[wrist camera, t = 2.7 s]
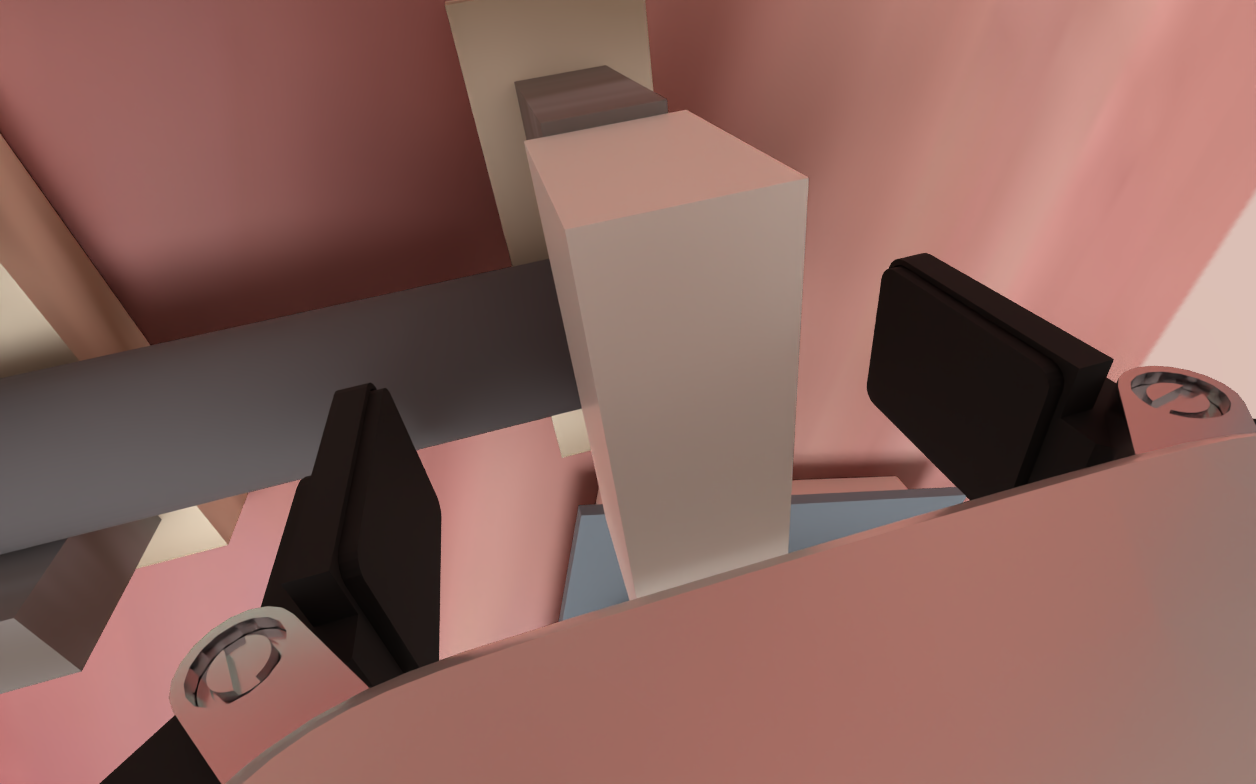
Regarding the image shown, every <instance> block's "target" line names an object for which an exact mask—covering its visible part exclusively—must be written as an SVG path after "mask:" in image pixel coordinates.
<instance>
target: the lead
mask: <svg viewBox="0 0 1256 784" xmlns="http://www.w3.org/2000/svg"><path fill="white" fill-rule="evenodd" d="M370 382H371V383H372V384H374V386H375V387H376V388H377V390H378V389H382V388H387V389H388V391H389V392H390V394H391V396H392V398H393V400H394V403H395V405H396V407H397V409H398V411H399V414H400V416H401V418H402V420H403V422H404V425H405V427H406V429H407V431H408V434H409V436H410V438H411V440H412V442H413V445H414V447H415V449H416V450H419V449H423V448H427V447H431V446H435V445H439V444H443V443H447V442H451V441H455V440H459V439H463V438H467V437H471V436H475V435H479V434H483V433H487V432H491V431H495V430H499V429H503V428H507V427H511V426H515V425H519V424H523V423H526V422H530V421H534V420H538V419H542V418H546V417H550V416H554V415H558V414H562V413H566V412H570V411H574V410H578V409H582V407H581V402H580V398H579V393H578V388H577V384H576V379H575V375H574V370H573V365H572V361H571V356H570V352H569V347H568V342H567V338H566V333H565V329H564V324H563V319H562V315H561V310H560V306H559V301H558V296H557V292H556V287H555V283H554V278H553V273H552V269H551V264H550V260H549V259H545V260H540V261H536V262H531V263H527V264H522V265H517V266H513V267H508V268H504V269H499V270H495V271H490V272H485V273H481V274H476V275H472V276H467V277H462V278H458V279H453V280H449V281H444V282H439V283H435V284H430V285H426V286H421V287H417V288H412V289H407V290H403V291H398V292H394V293H389V294H384V295H380V296H375V297H371V298H366V299H361V300H357V301H352V302H348V303H343V304H339V305H334V306H329V307H325V308H320V309H316V310H311V311H306V312H302V313H297V314H293V315H288V316H283V317H279V318H274V319H270V320H265V321H261V322H256V323H251V324H247V325H242V326H238V327H233V328H228V329H224V330H219V331H215V332H210V333H205V334H201V335H196V336H192V337H187V338H183V339H178V340H173V341H169V342H164V343H160V344H155V345H150V346H146V347H141V348H137V349H132V350H127V351H123V352H118V353H114V354H109V355H105V356H100V357H95V358H91V359H86V360H82V361H77V362H72V363H68V364H63V365H59V366H54V367H49V368H45V369H40V370H36V371H31V372H27V373H22V374H17V375H13V376H8V377H4V378H0V555H1V554H5V553H9V552H13V551H17V550H21V549H25V548H29V547H33V546H37V545H41V544H45V543H49V542H53V541H57V540H61V539H65V538H69V537H73V536H77V535H81V534H85V533H89V532H93V531H97V530H101V529H105V528H109V527H113V526H117V525H121V524H125V523H129V522H133V521H136V520H140V519H144V518H148V517H152V516H156V515H160V514H164V513H168V512H172V511H176V510H180V509H184V508H188V507H192V506H196V505H200V504H204V503H208V502H212V501H216V500H220V499H224V498H228V497H232V496H236V495H240V494H244V493H248V492H252V491H256V490H260V489H264V488H268V487H272V486H276V485H280V484H284V483H288V482H292V481H296V480H300V479H303V478H304V477H306V476H310V475H311V474H312V471H313V467H314V464H315V460H316V456H317V453H318V449H319V446H320V442H321V439H322V435H323V432H324V428H325V424H326V421H327V417H328V414H329V410H330V407H331V403H332V400H333V396H334V393H335V391H337V390H341V389H345V388H349V387H353V386H358V385H362V384H366V383H370Z"/></svg>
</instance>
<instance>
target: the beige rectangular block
mask: <svg viewBox="0 0 1256 784" xmlns="http://www.w3.org/2000/svg"><path fill="white" fill-rule="evenodd" d="M524 144H525V149H526V154H527V158H528V163H529V167H530V172H531V177H532V181H533V186H534V190H535V195H536V200H537V204H538V209H539V214H540V218H541V223H542V227H543V232H544V237H545V241H546V246H547V250H548V255H549V260H550V264H551V269H552V273H553V278H554V283H555V287H556V292H557V296H558V301H559V306H560V310H561V315H562V319H563V324H564V329H565V333H566V338H567V342H568V347H569V352H570V356H571V361H572V365H573V370H574V375H575V379H576V384H577V388H578V393H579V398H580V402H581V407H582V411H583V416H584V421H585V425H586V430H587V434H588V439H589V444H590V448H591V453H592V457H593V462H594V467H595V471H596V476H597V480H598V485H599V490H600V494H601V499H602V503H603V508H604V513H605V517H606V521H607V525H608V528H609V532H610V535H611V538H612V542H613V545H614V549H615V552H616V556H617V559H618V562H619V566H620V569H621V573H622V576H623V580H624V583H625V587H626V590H627V593H628V597H629V600H633V599H637V598H640V597H643V596H647V595H650V594H653V593H657V592H660V591H663V590H667V589H670V588H673V587H677V586H680V585H683V584H687V583H690V582H693V581H697V580H700V579H703V578H707V577H710V576H714V575H717V574H720V573H724V572H727V571H730V570H734V569H737V568H740V567H744V566H747V565H751V564H754V563H757V562H761V561H764V560H768V559H771V558H774V557H778V556H781V555H785V554H788V546H789V528H790V510H791V492H792V474H793V456H794V437H795V419H796V401H797V383H798V365H799V347H800V329H801V311H802V292H803V274H804V256H805V238H806V220H807V202H808V184H809V178H808V177H807V176H805V175H803V174H801V173H799V172H798V171H796V170H794V169H792V168H790V167H789V166H787V165H785V164H783V163H781V162H780V161H778V160H776V159H774V158H772V157H771V156H769V155H767V154H765V153H763V152H762V151H760V150H758V149H756V148H754V147H753V146H751V145H749V144H747V143H745V142H744V141H742V140H740V139H738V138H736V137H735V136H733V135H731V134H729V133H727V132H726V131H724V130H722V129H720V128H718V127H717V126H715V125H713V124H711V123H709V122H708V121H706V120H704V119H702V118H700V117H699V116H697V115H695V114H693V113H691V112H690V111H688V110H682V111H677V112H672V113H666V114H661V115H656V116H651V117H646V118H640V119H635V120H630V121H625V122H620V123H614V124H609V125H604V126H599V127H594V128H588V129H583V130H578V131H573V132H568V133H562V134H557V135H552V136H547V137H541V138H536V139H531V140H526V141H524Z"/></svg>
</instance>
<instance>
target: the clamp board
mask: <svg viewBox="0 0 1256 784" xmlns="http://www.w3.org/2000/svg"><path fill="white" fill-rule="evenodd" d="M445 8H446V12H447V16H448V20H449V23H450V27H451V31H452V35H453V39H454V43H455V47H456V50H457V54H458V58H459V62H460V66H461V70H462V74H463V77H464V81H465V85H466V89H467V93H468V97H469V101H470V105H471V108H472V112H473V116H474V120H475V124H476V128H477V132H478V135H479V139H480V143H481V147H482V151H483V155H484V159H485V162H486V166H487V170H488V174H489V178H490V182H491V186H492V189H493V193H494V197H495V201H496V205H497V209H498V213H499V217H500V220H501V224H502V228H503V232H504V236H505V240H506V244H507V247H508V251H509V255H510V259H511V263H512V267H513V266H517V265H522V264H527V263H531V262H536V261H540V260H545V259H549V255H548V250H547V246H546V241H545V237H544V232H543V227H542V223H541V218H540V214H539V209H538V204H537V200H536V195H535V190H534V186H533V181H532V177H531V172H530V167H529V163H528V158H527V154H526V149H525V144H524V141H526V140H531V139H536V138H541V137H547V136H552V135H557V134H562V133H568V132H573V131H578V130H583V129H588V128H594V127H599V126H604V125H609V124H614V123H620V122H625V121H630V120H635V119H640V118H646V117H651V116H656V115H661V114H666V113H668V106H667V99H666V98H664V97H662V96H660V95H658V94H657V93H655V92H653V81H652V70H651V59H650V48H649V37H648V26H647V15H646V4H645V0H450V1H445ZM146 346H150V344H149V343H148V341H147V340H146V338H145V337H144V336H143V334H142V333H141V331H140V330H139V329H138V327H137V326H136V324H135V323H134V322H133V320H132V319H131V317H130V316H129V314H128V313H127V312H126V310H125V309H124V307H123V306H122V305H121V303H120V302H119V300H118V299H117V298H116V296H115V295H114V293H113V292H112V291H111V289H110V288H109V286H108V285H107V283H106V282H105V281H104V279H103V278H102V276H101V275H100V274H99V272H98V271H97V269H96V268H95V267H94V265H93V264H92V262H91V261H90V260H89V258H88V257H87V255H86V254H85V252H84V251H83V250H82V248H81V247H80V245H79V244H78V243H77V241H76V240H75V238H74V237H73V236H72V234H71V233H70V231H69V230H68V228H67V227H66V226H65V224H64V223H63V221H62V220H61V219H60V217H59V216H58V214H57V213H56V212H55V210H54V209H53V207H52V206H51V205H50V203H49V202H48V200H47V199H46V197H45V196H44V195H43V193H42V192H41V190H40V189H39V188H38V186H37V185H36V183H35V182H34V181H33V179H32V178H31V176H30V175H29V174H28V172H27V171H26V169H25V168H24V166H23V165H22V164H21V162H20V161H19V159H18V158H17V157H16V155H15V154H14V152H13V151H12V150H11V148H10V147H9V145H8V144H7V142H6V141H5V140H4V138H3V137H2V135H1V134H0V378H4V377H8V376H13V375H17V374H22V373H27V372H31V371H36V370H40V369H45V368H49V367H54V366H59V365H63V364H68V363H72V362H77V361H82V360H86V359H91V358H95V357H100V356H105V355H109V354H114V353H118V352H123V351H127V350H132V349H137V348H141V347H146ZM551 417H552V421H553V425H554V429H555V433H556V437H557V441H558V444H559V448H560V452H561V456H562V458H563V457H567V456H571V455H575V454H579V453H583V452H587V451H590V450H591V448H590V444H589V439H588V434H587V430H586V425H585V421H584V416H583V411H582V409H578V410H574V411H570V412H566V413H562V414H558V415H554V416H551ZM247 495H248V493H244V494H240V495H236V496H232V497H228V498H224V499H220V500H216V501H212V502H208V503H204V504H200V505H196V506H192V507H188V508H184V509H180V510H176V511H172V512H168V513H164V514H160V515H156V516H152V517H148V518H144V519H140V520H136V521H133V522H129V523H125V524H121V525H117V526H113V527H109V528H105V529H101V530H97V531H93V532H89V533H85V534H81V535H77V536H73V537H69V538H65V539H61V540H57V541H53V542H49V543H45V544H41V545H37V546H33V547H29V548H25V549H21V550H17V551H13V552H9V553H5V554H1V555H0V694H2V693H5V692H9V691H12V690H16V689H20V688H23V687H27V686H30V685H34V684H38V683H41V682H45V681H48V680H52V679H56V678H59V677H63V676H66V675H70V674H74V673H77V672H81V671H82V670H83V668H84V666H85V664H86V662H87V660H88V658H89V656H90V655H91V653H92V651H93V649H94V647H95V645H96V643H97V641H98V639H99V638H100V636H101V634H102V632H103V630H104V628H105V626H106V624H107V622H108V621H109V619H110V617H111V615H112V613H113V611H114V609H115V607H116V605H117V603H118V602H119V600H120V598H121V596H122V594H123V592H124V590H125V588H126V586H127V585H128V583H129V581H130V579H131V577H132V575H133V573H134V571H135V569H138V568H141V567H145V566H149V565H153V564H157V563H161V562H164V561H168V560H172V559H176V558H180V557H184V556H188V555H191V554H195V553H199V552H203V551H207V550H211V549H214V548H218V547H222V546H226V545H228V544H229V541H230V539H231V536H232V533H233V531H234V528H235V526H236V523H237V521H238V518H239V515H240V513H241V510H242V508H243V505H244V503H245V500H246V497H247Z"/></svg>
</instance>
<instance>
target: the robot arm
mask: <svg viewBox="0 0 1256 784" xmlns="http://www.w3.org/2000/svg"><path fill="white" fill-rule="evenodd" d="M1113 360H1114V359H1112V358H1111V357H1109V356H1107V355H1105V354H1104V353H1102V352H1100V351H1098V350H1097V349H1095V348H1093V347H1091V346H1090V345H1088V344H1086V343H1084V342H1083V341H1081V340H1079V339H1077V338H1076V337H1074V336H1072V335H1070V334H1069V333H1067V332H1065V331H1063V330H1062V329H1060V328H1058V327H1056V326H1055V325H1053V324H1051V323H1049V322H1048V321H1046V320H1044V319H1042V318H1041V317H1039V316H1037V315H1035V314H1034V313H1032V312H1030V311H1028V310H1027V309H1025V308H1023V307H1021V306H1020V305H1018V304H1016V303H1014V302H1013V301H1011V300H1009V299H1007V298H1006V297H1004V296H1002V295H1000V294H999V293H997V292H995V291H993V290H992V289H990V288H988V287H986V286H985V285H983V284H981V283H979V282H978V281H976V280H974V279H972V278H971V277H969V276H967V275H965V274H964V273H962V272H960V271H958V270H957V269H955V268H953V267H951V266H950V265H948V264H946V263H944V262H943V261H941V260H939V259H937V258H936V257H934V256H932V255H930V254H927V253H922V254H917V255H913V256H909V257H904V258H900V259H896V260H894V261H893V262H892V263H891V265H890V266H889V269H887V270H886V271H885V272H884V273H883V275H882V279H881V286H880V294H879V301H878V308H877V315H876V323H875V330H874V337H873V344H872V352H871V359H870V366H869V373H868V381H867V391H868V395H869V397H870V399H871V401H872V402H873V404H874V405H875V406H876V407H877V408H878V409H879V410H880V411H881V412H882V413H883V414H884V415H885V416H886V417H887V418H888V419H889V420H890V421H891V422H892V423H893V424H894V425H895V426H896V427H897V428H898V429H899V430H900V431H901V432H902V433H903V434H904V435H905V436H906V437H907V438H908V439H909V440H910V441H911V442H912V443H913V444H914V445H915V446H916V447H917V448H918V449H919V450H920V451H921V452H922V453H923V454H924V455H925V456H926V457H927V458H928V459H929V460H930V461H931V462H932V463H933V464H934V465H935V466H936V467H937V468H938V469H939V470H940V471H941V472H942V473H943V474H944V475H945V476H946V477H947V478H948V479H949V480H950V481H951V482H952V483H953V484H954V485H955V486H956V487H957V488H958V489H959V490H960V491H961V492H962V493H963V494H964V495H965V496H966V497H967V498H968V499H969V500H970V501H967V502H964V503H960V504H957V505H953V506H950V507H946V508H943V509H939V510H936V511H932V512H929V513H925V514H922V515H918V516H915V517H911V518H908V519H904V520H901V521H898V522H894V523H891V524H887V525H884V526H880V527H877V528H874V529H870V530H867V531H863V532H860V533H856V534H853V535H850V536H846V537H843V538H839V539H836V540H832V541H829V542H826V543H822V544H819V545H815V546H812V547H809V548H805V549H802V550H798V551H795V552H791V553H788V554H785V555H781V556H778V557H774V558H771V559H768V560H764V561H761V562H757V563H754V564H751V565H747V566H744V567H740V568H737V569H734V570H730V571H727V572H724V573H720V574H717V575H714V576H710V577H707V578H703V579H700V580H697V581H693V582H690V583H687V584H683V585H680V586H677V587H673V588H670V589H667V590H663V591H660V592H657V593H653V594H650V595H647V596H643V597H640V598H637V599H633V600H630V601H626V602H623V603H620V604H616V605H613V606H610V607H606V608H603V609H600V610H596V611H593V612H590V613H586V614H583V615H580V616H576V617H573V618H570V619H567V620H563V621H560V622H557V623H554V624H551V625H548V626H544V627H541V628H538V629H535V630H532V631H529V632H525V633H522V634H519V635H516V636H513V637H509V638H506V639H503V640H500V641H497V642H494V643H490V644H487V645H484V646H481V647H478V648H475V649H471V650H468V651H465V652H462V653H459V654H457V655H454V656H451V657H448V658H445V659H443V660H440V661H439V625H440V568H441V509H440V505H439V501H438V498H437V496H436V493H435V491H434V489H433V487H432V485H431V482H430V480H429V478H428V476H427V474H426V471H425V469H424V467H423V465H422V462H421V460H420V458H419V456H418V454H417V451H416V449H415V447H414V445H413V442H412V440H411V438H410V436H409V434H408V431H407V429H406V427H405V425H404V422H403V420H402V418H401V416H400V414H399V411H398V409H397V407H396V405H395V403H394V400H393V398H392V396H391V394H390V392H389V391H388V389H387V388H382V389H378V390H377V388H376V387H375V386H374V384H372V383H371V382H370V383H366V384H362V385H358V386H353V387H349V388H345V389H341V390H337V391H335V393H334V396H333V400H332V403H331V407H330V410H329V414H328V417H327V421H326V424H325V428H324V432H323V435H322V439H321V442H320V446H319V449H318V453H317V456H316V460H315V464H314V467H313V471H312V474H311V475H310V476H306V477H304V478H303V479H301V480H300V482H299V484H298V486H297V489H296V493H295V496H294V499H293V502H292V506H291V509H290V512H289V516H288V519H287V522H286V526H285V529H284V532H283V535H282V539H281V542H280V545H279V549H278V552H277V555H276V559H275V562H274V565H273V568H272V572H271V575H270V578H269V582H268V585H267V588H266V592H265V595H264V598H263V601H262V605H261V607H260V608H255V609H250V610H247V611H245V612H243V613H240V614H238V615H236V616H233V617H231V618H229V619H228V620H226V621H225V622H223V623H222V624H220V625H218V626H217V627H215V628H214V629H212V630H211V631H210V632H209V633H208V634H206V635H205V636H204V637H203V638H202V639H201V640H200V641H199V642H198V643H196V644H195V645H194V646H193V648H192V649H191V650H190V652H189V653H188V654H187V655H186V657H185V658H184V659H183V660H182V662H181V663H180V665H179V667H178V669H177V671H176V673H175V675H174V677H173V679H172V681H171V687H170V693H169V700H170V704H171V707H172V710H173V712H174V714H175V716H174V717H173V718H171V719H170V720H169V721H168V722H167V723H166V724H165V725H164V726H163V727H162V728H160V729H159V730H158V731H157V732H156V733H155V734H154V735H153V736H152V737H150V738H149V739H148V740H147V741H146V742H145V743H144V744H143V745H142V746H141V747H139V748H138V749H137V750H136V751H135V752H134V753H133V754H132V755H131V756H130V757H128V758H127V759H126V760H125V761H124V762H123V763H122V764H121V765H120V766H118V767H117V768H116V769H115V770H114V771H113V772H112V773H111V774H110V775H109V776H107V777H106V778H105V779H104V780H103V781H102V782H101V783H100V784H1256V419H1253V418H1252V416H1251V414H1250V412H1249V410H1248V409H1247V406H1246V404H1245V402H1244V401H1243V400H1242V399H1241V397H1240V396H1239V395H1238V394H1237V393H1236V392H1235V391H1233V390H1232V389H1231V388H1229V387H1228V386H1226V385H1225V384H1223V383H1221V382H1219V381H1217V380H1214V379H1212V378H1210V377H1208V376H1205V375H1202V374H1199V373H1196V372H1192V371H1189V370H1184V369H1179V368H1173V367H1163V366H1146V367H1137V368H1134V369H1131V370H1129V371H1126V372H1124V373H1123V374H1122V375H1121V376H1120V377H1119V379H1118V381H1117V383H1115V382H1113V381H1111V380H1110V379H1108V378H1106V377H1107V374H1108V372H1109V370H1110V367H1111V365H1112V363H1113Z"/></svg>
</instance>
